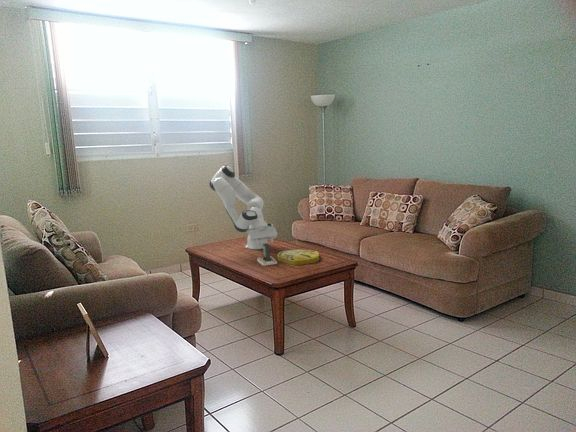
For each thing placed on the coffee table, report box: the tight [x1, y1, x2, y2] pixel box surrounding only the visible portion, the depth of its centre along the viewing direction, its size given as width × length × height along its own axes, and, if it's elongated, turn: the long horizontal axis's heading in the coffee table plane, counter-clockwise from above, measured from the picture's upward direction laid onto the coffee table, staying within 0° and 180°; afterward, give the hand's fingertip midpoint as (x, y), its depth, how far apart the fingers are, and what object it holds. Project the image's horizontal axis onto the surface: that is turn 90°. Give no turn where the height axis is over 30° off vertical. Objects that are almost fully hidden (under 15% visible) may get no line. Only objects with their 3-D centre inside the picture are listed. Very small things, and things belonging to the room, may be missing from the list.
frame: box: [262, 242, 271, 262], centre depth 300 cm, size 6×4×11 cm
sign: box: [277, 249, 320, 266], centre depth 308 cm, size 28×3×30 cm
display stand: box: [256, 255, 278, 266], centre depth 301 cm, size 13×10×3 cm
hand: (265, 244), depth 303 cm, fingers open, 8 cm apart
